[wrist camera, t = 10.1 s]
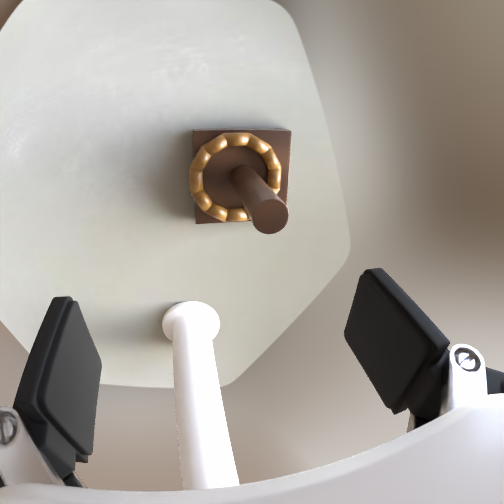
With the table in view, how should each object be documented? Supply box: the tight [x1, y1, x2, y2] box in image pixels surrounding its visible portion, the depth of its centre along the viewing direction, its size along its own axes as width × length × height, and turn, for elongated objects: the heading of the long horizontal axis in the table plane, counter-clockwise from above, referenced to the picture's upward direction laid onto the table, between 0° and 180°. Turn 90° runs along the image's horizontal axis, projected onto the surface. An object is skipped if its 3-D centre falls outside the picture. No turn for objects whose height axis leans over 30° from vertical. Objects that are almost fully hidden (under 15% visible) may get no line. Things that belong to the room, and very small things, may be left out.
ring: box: [189, 133, 281, 222], centre depth 27 cm, size 8×8×1 cm
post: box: [193, 128, 292, 234], centre depth 24 cm, size 9×9×11 cm
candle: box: [162, 301, 239, 491], centre depth 25 cm, size 7×7×25 cm
